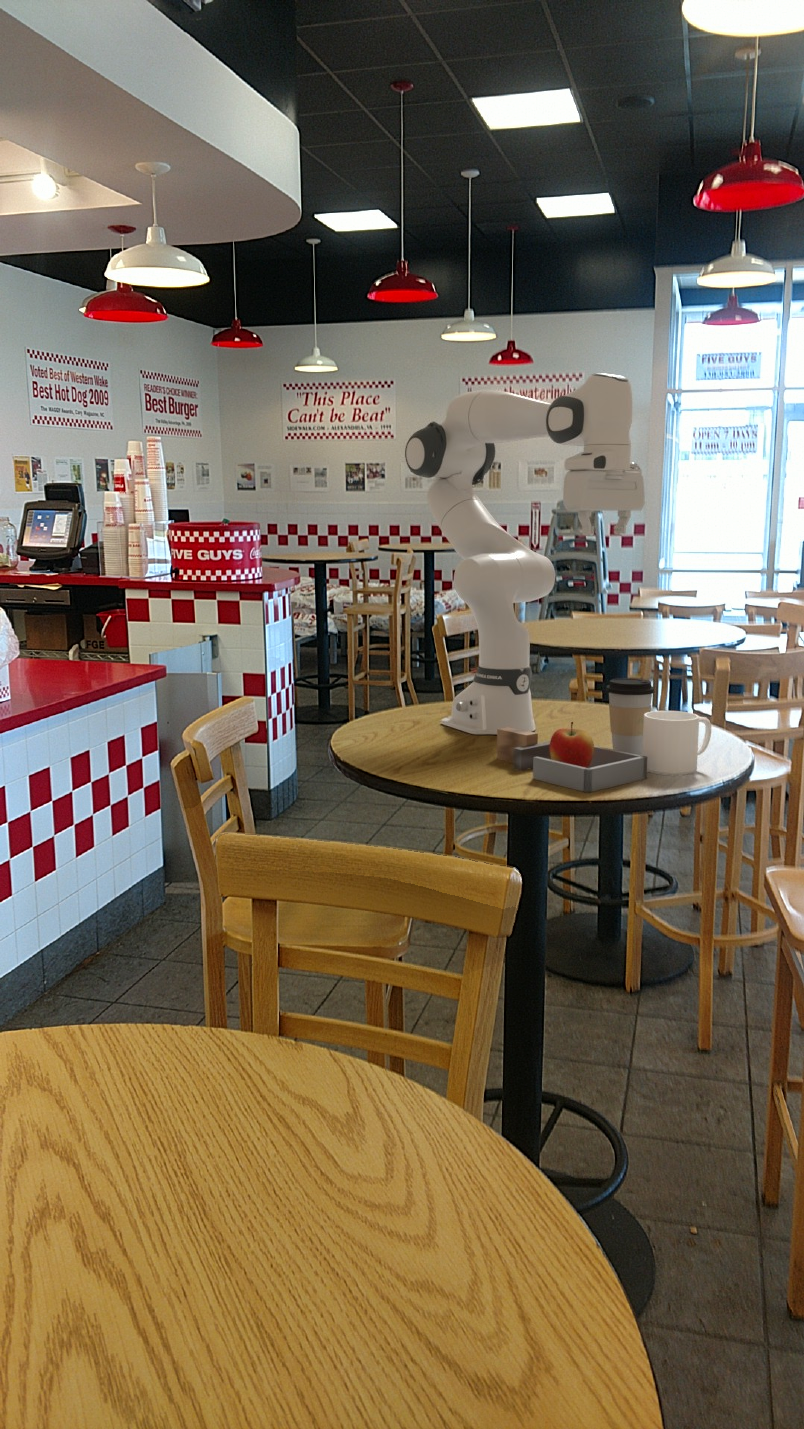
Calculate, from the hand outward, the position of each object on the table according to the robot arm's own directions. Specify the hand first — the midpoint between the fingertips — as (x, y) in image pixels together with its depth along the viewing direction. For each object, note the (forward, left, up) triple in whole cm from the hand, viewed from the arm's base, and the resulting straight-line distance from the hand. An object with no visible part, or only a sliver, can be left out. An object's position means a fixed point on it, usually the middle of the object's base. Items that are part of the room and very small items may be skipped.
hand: (603, 535), depth 206 cm
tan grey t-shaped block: (-6, -17, -43) cm, 47 cm away
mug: (+18, +1, -43) cm, 47 cm away
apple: (+8, -17, -43) cm, 47 cm away
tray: (+13, -17, -43) cm, 48 cm away
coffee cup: (+5, +3, -43) cm, 44 cm away
